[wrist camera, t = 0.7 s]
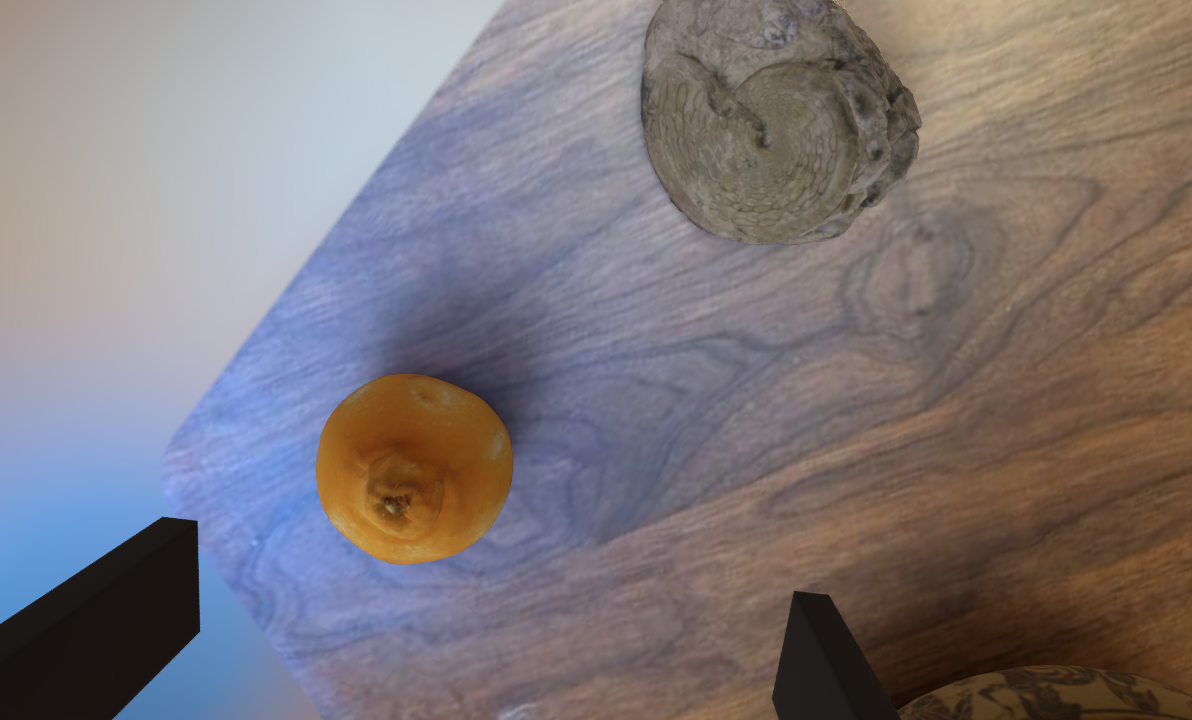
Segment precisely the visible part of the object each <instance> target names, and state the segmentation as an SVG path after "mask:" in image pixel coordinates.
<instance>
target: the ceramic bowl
mask: <svg viewBox="0 0 1192 720" xmlns="http://www.w3.org/2000/svg"><path fill="white" fill-rule="evenodd" d="M897 713H898V715H899V717H900V718H901V720H1192V696H1191V695H1188V694H1186V693H1184V692H1182V691H1180V690H1178V689H1176V688H1174V687H1172V686H1169V685H1166V684H1164V683H1161V682H1157V681H1154V680H1150V679H1146V678H1143V677H1139V676H1135V675H1131V674H1127V673H1123V672H1119V671H1115V670H1108V669H1102V668H1093V667H1083V666H1071V665H1043V666H1026V667H1019V668H1013V669H1006V670H1000V671H994V672H990V673H986V674H981V675H977V676H973V677H969V678H966V679H963V680H960V681H957V682H954V683H952V684H949V685H947V686H944V687H942V688H939V689H937V690H935V691H933V692H930V693H928V694H926V695H923V696H921V697H919V698H916V699H915V700H913V701H912V702H910V703H908V704H907V705H905V706H904V707H902V708H901V709H899V710H897Z"/></svg>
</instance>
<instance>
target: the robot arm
mask: <svg viewBox="0 0 1192 720" xmlns="http://www.w3.org/2000/svg"><path fill="white" fill-rule="evenodd" d="M198 565H199V564H198V521H194V520H186V519H177V518H168V517H162V518H160V519H159V520H157V521H156V522H154V523H152V524H151V525H149V526H148V527H146V528H145V529H143V530H142V531H140V532H139V533H137V534H136V535H134V536H133V537H131V538H130V539H128V540H127V541H125V542H124V543H122V544H121V545H119V546H118V547H116V548H115V549H113V550H112V551H110V552H109V553H107V554H106V555H104V556H103V557H101V558H100V559H98V560H96V561H95V562H93V563H92V564H90V565H89V566H87V567H86V568H84V569H83V570H81V571H80V572H79V573H77V574H75V575H74V576H72V577H71V578H69V579H68V580H66V581H65V582H63V583H62V584H60V585H59V586H57V587H56V588H54V589H53V590H51V591H49V592H48V593H46V594H45V595H43V596H42V597H40V598H39V599H38V600H36V601H34V602H33V603H31V604H30V605H28V606H27V607H25V608H24V609H22V610H21V611H19V612H18V613H16V614H15V615H13V616H12V617H10V618H9V619H7V620H6V621H4V622H3V623H1V624H0V720H112V719H113V718H114V717H115V716H116V715H117V714H118V713H119V712H120V711H121V710H122V709H123V708H124V707H125V706H126V705H127V704H128V703H129V702H130V701H131V700H132V699H133V698H134V697H135V696H136V695H137V694H138V693H139V692H140V691H141V690H142V689H143V688H144V687H145V686H146V685H147V684H148V683H149V682H150V681H151V680H152V679H153V678H154V677H155V676H156V675H157V674H158V673H159V672H160V671H161V670H162V669H163V668H164V667H165V666H166V665H167V664H168V663H169V662H170V661H171V660H172V659H173V658H174V657H175V656H176V655H177V654H178V653H179V652H180V651H181V650H182V649H183V648H184V647H185V646H186V645H187V644H188V643H189V642H190V641H191V640H192V639H193V638H194V637H195V636H196V635H197V634H198V633H199V632H200V609H199V569H198V568H199V566H198ZM772 700H773V703H774V706H775V709H776V712H777V715H778V718H779V720H901V718H900V717H899V715H898V713H897V711H896V710H895V708H894V706H893V704H892V703H891V701H890V699H889V698H888V696H887V694H886V692H885V691H884V689H883V687H882V686H881V684H880V682H879V680H878V679H877V677H876V675H875V674H874V672H873V670H872V668H871V667H870V665H869V663H868V662H867V660H866V658H865V656H864V655H863V653H862V651H861V650H860V648H859V646H858V644H857V643H856V641H855V639H854V637H853V636H852V634H851V632H850V631H849V629H848V627H847V625H846V624H845V622H844V620H843V619H842V617H841V615H840V613H839V612H838V610H837V608H836V607H835V605H834V603H833V601H832V600H831V598H830V596H829V595H824V594H816V593H807V592H799V591H794V594H793V599H792V604H791V608H790V613H789V618H788V623H787V628H786V633H785V638H784V643H783V647H782V652H781V657H780V662H779V667H778V672H777V677H776V682H775V686H774V691H773V696H772Z"/></svg>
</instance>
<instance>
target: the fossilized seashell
mask: <svg viewBox="0 0 1192 720" xmlns="http://www.w3.org/2000/svg"><path fill="white" fill-rule="evenodd" d="M645 50H646V59H647V61H646V63H645V65H644V70H643V75H642V82H641V119H642V124H643V130H644V135H645V140H646V144H647V149H648V153H649V156H650V159H651V163H652V165H653V167H654V170H655V173H656V174H657V175H658V177H659V179H660V181H661V183H662V185H663V187H664V188H665V190H666V191H667V192H668V194H669V196H670V198H671V201H672V202H673V203H674V204H675V206H676V207H677V208H678V209H679V210H680V211H681V212H683V213H685V214H686V216H687V217H688V218H689V219H690V220H691V221H692V222H693V223H694V224H695V225H697V226H698V227H699V228H701V229H703V230H705V231H707V232H709V233H712V234H714V235H718V236H723V237H726V238H728V239H731V240H736V241H739V242H744V243H749V244H755V245H765V244H771V243H775V242H776V243H779V244H783V245H795V244H804V243H811V242H818V241H825V240H829V239H833V238H836V237H838V236H840V235H841V234H843V233H844V232H845V231H846V230H847V229H848V228H849V227H850V225H851V223H852V221H853V220H854V219H855V217H858V215H859V214H860V213H861V212H862V211H863V210H864V209H865V208H869V207H873V206H876V205H877V204H878V203H879V202H880V201H881V200H882V199H883V198H884V197H885V196H886V195H887V193H888V192H889V191H891V189H892V188H893V187H894V186H895V185H897V184H898V183H900V182H901V181H902V180H904V178H905V177H906V174H907V172H908V170H909V168H910V166H911V165H912V163H913V162H914V161H915V160H916V159H917V153H918V148H919V137H918V135H917V133H916V130H917V129H919V128H920V127H921V126H922V121H921V118H920V116H919V112H918V109H917V106H916V103H915V101H914V98H913V94H912V93H911V92H910V91H909V89H908V88H906V87H905V86H903V85H902V83H901V82H900V80H899V78H898V76H897V75H896V74H895V73H894V72H893V70H892V69H891V67H890V66H889V64H888V63H887V62H886V61H885V60H884V59H883V58H882V56H881V55H880V51H879V49H878V48H877V46H876V45H875V43H874V42H873V41H872V40H871V39H870V38H869V37H868V36H867V35H866V34H865V32H864V31H863V30H862V29H860V28H859V27H857V26H855V24H854V23H853V21H852V20H851V18H850V17H849V15H848V14H847V13H846V11H845V10H844V9H843V8H841V7H839V6H838V5H837V4H835V3H834V2H833V1H832V0H666V1H665V2H664V3H663V4H661V6H660V7H659V8H658V9H657V11H656V14H655V16H654V17H653V19H652V21H651V23H650V25H649V27H648V30H647V33H646V39H645Z"/></svg>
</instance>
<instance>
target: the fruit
mask: <svg viewBox="0 0 1192 720" xmlns="http://www.w3.org/2000/svg"><path fill="white" fill-rule="evenodd" d="M512 472H513V451H512V445H511V440H510V437H509V434H508V431H507V429H506V427H505V425H504V424H503V422H502V421H501V419H500V418H499V417H498V415H497V414H496V413H495V412H494V411H493V409H492V408H491V407H490V406H489V405H488V404H487V403H486V402H485V401H483V400H482V399H481V398H479V397H478V396H476V395H475V394H473V393H471V392H469V391H466V390H464V389H462V388H460V387H458V386H455V385H453V384H451V383H448V382H445V381H443V380H440V379H437V378H433V377H430V376H424V375H418V374H393V375H388V376H383V377H380V378H377V379H375V380H372V381H371V382H369V383H367V384H365V385H363V386H362V387H360V388H359V389H357V390H356V391H355V392H353V393H352V394H351V395H349V396H348V397H347V398H346V399H344V400H343V401H342V402H341V403H340V404H339V406H338V407H337V408H336V409H335V410H334V412H333V413H332V414H331V416H330V417H329V419H328V420H327V422H326V424H325V426H324V428H323V431H322V433H321V438H320V442H319V448H318V455H317V461H316V479H317V487H318V493H319V497H320V501H321V504H322V507H323V509H324V511H325V513H326V514H327V516H328V518H329V519H330V521H331V522H332V523H333V525H334V526H335V527H336V528H337V529H338V530H339V531H340V532H341V533H342V534H343V535H344V536H345V537H346V538H347V539H349V540H350V541H351V542H352V543H353V544H355V545H356V546H357V547H359V548H360V549H362V550H364V551H365V552H367V553H368V554H370V555H372V556H373V557H375V558H377V559H379V560H382V561H385V562H388V563H393V564H416V563H423V562H428V561H434V560H439V559H443V558H447V557H450V556H453V555H455V554H458V553H459V552H461V551H463V550H465V549H466V548H468V547H469V546H471V545H472V544H473V543H475V542H476V541H478V540H479V539H480V538H481V537H482V536H483V535H484V534H485V533H486V532H487V531H488V530H489V529H490V528H491V526H492V525H493V523H494V522H495V520H496V519H497V517H498V515H499V513H500V511H501V509H502V507H503V505H504V503H505V501H506V498H507V496H508V493H509V490H510V486H511V481H512Z"/></svg>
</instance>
